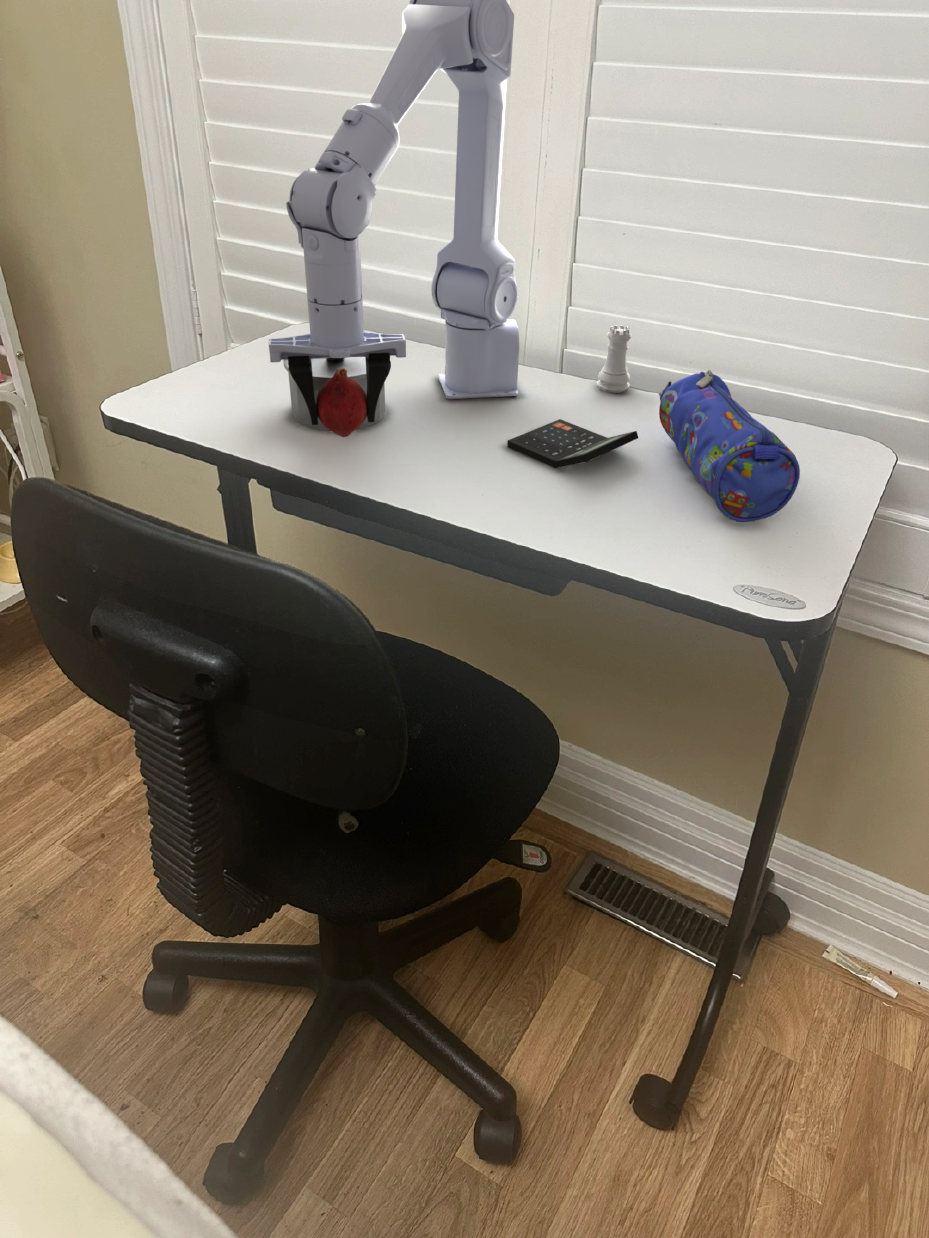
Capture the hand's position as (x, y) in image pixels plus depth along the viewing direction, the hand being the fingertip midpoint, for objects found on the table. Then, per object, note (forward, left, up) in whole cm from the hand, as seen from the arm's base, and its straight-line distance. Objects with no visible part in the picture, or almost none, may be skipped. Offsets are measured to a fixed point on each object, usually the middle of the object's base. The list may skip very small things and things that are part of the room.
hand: (342, 420), depth 102 cm
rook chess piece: (-37, -15, -4) cm, 40 cm away
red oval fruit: (0, 0, -2) cm, 2 cm away
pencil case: (-40, +13, -4) cm, 42 cm away
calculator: (-26, +4, -4) cm, 27 cm away
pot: (0, -10, -3) cm, 11 cm away
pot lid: (0, -10, +3) cm, 11 cm away
